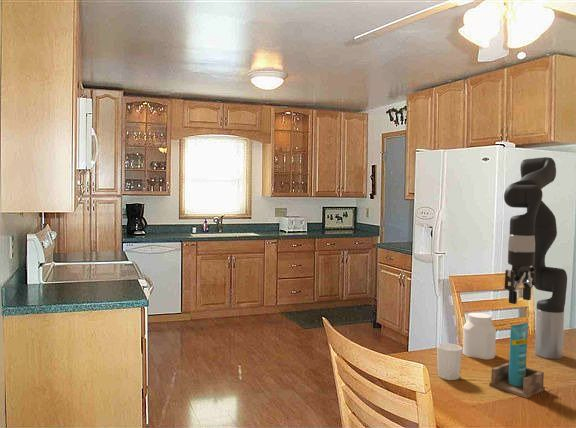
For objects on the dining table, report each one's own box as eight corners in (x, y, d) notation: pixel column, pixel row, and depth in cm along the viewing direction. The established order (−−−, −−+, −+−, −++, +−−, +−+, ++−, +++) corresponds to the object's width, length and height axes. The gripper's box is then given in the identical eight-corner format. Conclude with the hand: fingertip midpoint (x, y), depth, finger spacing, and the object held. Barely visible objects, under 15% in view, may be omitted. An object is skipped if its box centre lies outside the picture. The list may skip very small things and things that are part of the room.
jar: (496, 353, 194) (497, 314, 193) (493, 360, 185) (495, 320, 185) (464, 348, 199) (465, 310, 199) (460, 355, 191) (461, 316, 190)
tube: (516, 389, 156) (519, 326, 155) (502, 383, 160) (504, 323, 160) (531, 384, 160) (533, 323, 159) (516, 379, 164) (519, 320, 164)
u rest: (507, 378, 168) (508, 361, 168) (544, 389, 159) (545, 372, 158) (489, 385, 161) (489, 368, 161) (526, 398, 152) (527, 380, 152)
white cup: (448, 382, 164) (449, 351, 163) (431, 374, 171) (431, 345, 170) (466, 378, 167) (467, 348, 167) (448, 371, 174) (449, 342, 174)
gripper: (521, 247, 165) (519, 296, 166) (497, 249, 156) (496, 302, 157) (544, 249, 159) (543, 300, 160) (521, 252, 150) (519, 307, 151)
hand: (519, 301), depth 159 cm, fingers open, 8 cm apart
